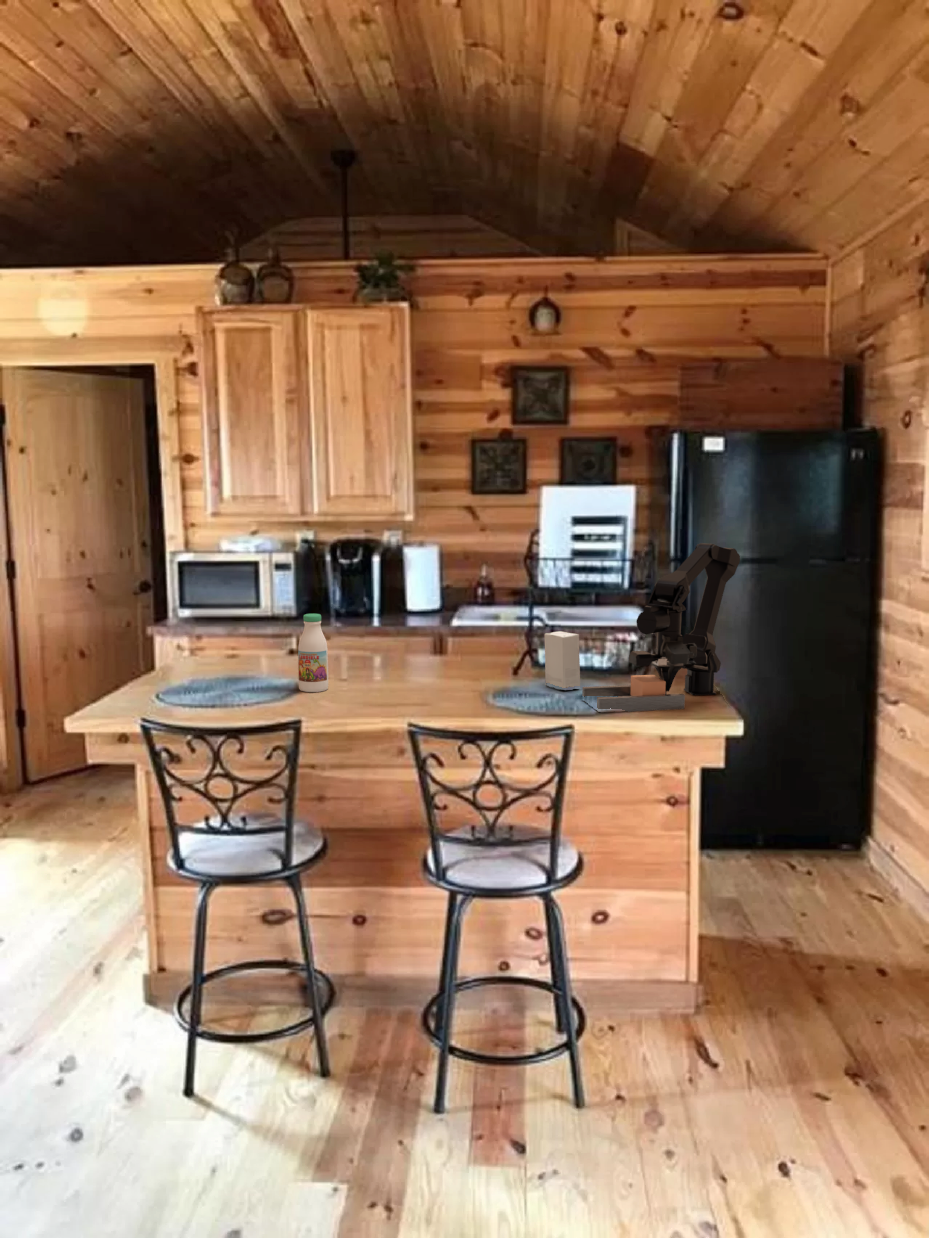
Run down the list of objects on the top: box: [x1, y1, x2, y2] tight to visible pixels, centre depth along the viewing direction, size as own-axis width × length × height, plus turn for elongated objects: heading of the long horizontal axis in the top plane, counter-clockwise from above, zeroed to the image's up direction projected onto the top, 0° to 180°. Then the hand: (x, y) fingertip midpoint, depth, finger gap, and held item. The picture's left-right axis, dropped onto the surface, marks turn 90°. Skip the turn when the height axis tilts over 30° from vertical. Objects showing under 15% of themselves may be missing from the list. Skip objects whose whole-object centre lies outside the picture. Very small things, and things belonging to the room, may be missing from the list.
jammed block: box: [630, 674, 666, 696], centre depth 259 cm, size 6×8×5 cm
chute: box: [581, 684, 686, 713], centre depth 259 cm, size 22×13×4 cm, turn 102°
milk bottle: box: [297, 613, 329, 693], centre depth 272 cm, size 8×8×20 cm
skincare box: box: [544, 631, 581, 688], centre depth 276 cm, size 8×6×15 cm
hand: (666, 691), depth 260 cm, fingers closed
